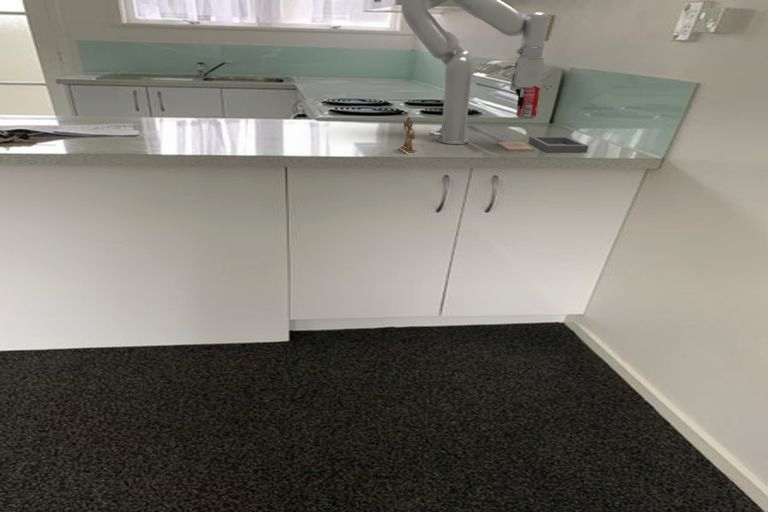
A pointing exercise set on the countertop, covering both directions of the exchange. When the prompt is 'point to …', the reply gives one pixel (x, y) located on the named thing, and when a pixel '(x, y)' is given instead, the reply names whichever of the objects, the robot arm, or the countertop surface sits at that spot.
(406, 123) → the bronze figurine
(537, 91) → the soda can
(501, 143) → the tile
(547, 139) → the gray square tray
